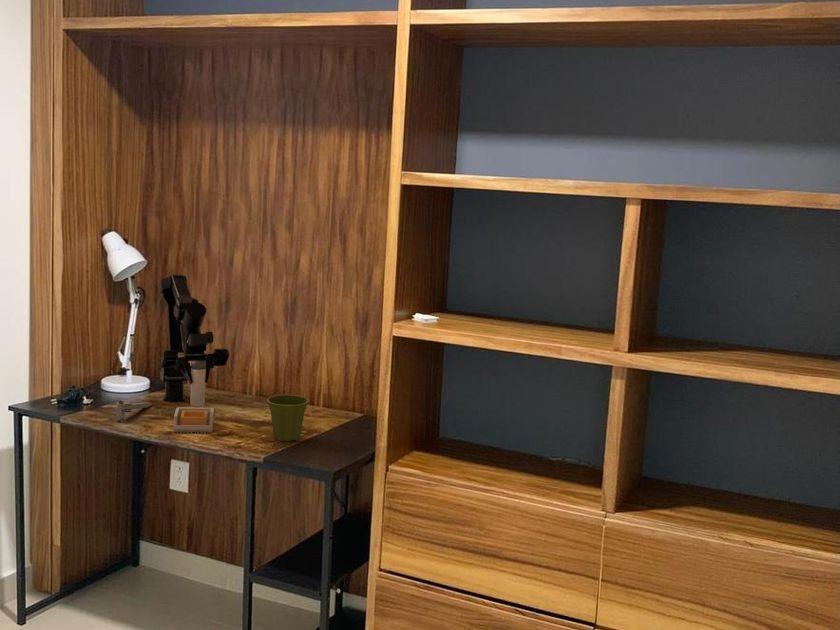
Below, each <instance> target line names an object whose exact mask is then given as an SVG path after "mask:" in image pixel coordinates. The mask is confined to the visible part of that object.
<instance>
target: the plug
mask: <svg viewBox="0 0 840 630" xmlns="http://www.w3.org/2000/svg"><path fill="white" fill-rule="evenodd" d="M190 362H191V363H190V366H191V375H192V384H190V405H191V406H195V407H196V406H197V407H199V406H201V407H202V406H204V405H205V403H206V402H205V401H206V382H205V377H206V361H204V360H193V361H190Z"/></svg>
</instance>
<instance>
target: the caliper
mask: <svg viewBox="0 0 840 630" xmlns="http://www.w3.org/2000/svg"><path fill="white" fill-rule="evenodd" d="M116 406H117V407H116V421H117V422H121V421H123V419H124V420H125V415H126V413H131V412H132V410H139V409H146V408H149V407H151V406H153V403H151V402H140V403H139V402H138V403H132V402H125V400H124V399H120V400H118V404H117V405H116Z"/></svg>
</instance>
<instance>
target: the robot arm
mask: <svg viewBox="0 0 840 630" xmlns="http://www.w3.org/2000/svg"><path fill="white" fill-rule="evenodd" d="M188 285H189V284H188V279H187V276H186V275H184V274H171V275H169V276H168V277H165V278H162V279H160V281H159V283H158V294H160V300H161V302H163V304H164V306H165V308H166V325H167V329H166V330H167V349H164V350H163V351H162V352H161V353H162V354H161V357H160V366H161V367H160V372H159V375H160V376H159V377H160V378H159V379H160V381H161V382H162V383H165V385H164V386H165V393H164V396H163V397H162V400H163V401H167V402H168V401H169V402H170V401H176V402H178V401H180V402H183V401H185V399H186V394H184V387H185V385H184V384H185V382H186V381H187V382H188V383H189V384H190V385H191V384H192V375H191V363H190V362H192V361H193V360H204V361H206V377H205V384H208V382H209V376H210V372H211V369H214V368H215V367H225V366H226V365H227V363H228V360H229V357H230V352H229V350H228V348H214V349H213V352H212V353H205V352H206V351H207V346H208V344H213V343H214V334H213V331H206V332H205V333H202V329H201V327H202V326H203V324H204V320H205V318H206V314H207V308H206V306H205V305H204V304H203V303H202V302H199V299H197V298H194V297H192V296H191V292H190V289H189V287H188Z"/></svg>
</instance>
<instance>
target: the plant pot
mask: <svg viewBox="0 0 840 630" xmlns="http://www.w3.org/2000/svg"><path fill="white" fill-rule="evenodd" d="M266 402H267V403H268V407H269V411H270V418H271V423H272V424H271V425H272V432H273V438H274V439H276V440H277V441H280V442H291V441H297V440H299V439H300V436H301V431H302V426H303V421H304V418H305V417H304V416H305V412H306V410H307V407H308V406H307V405H308V403H309V402H310V399H309V398H308V397H305V396H303V395H297V394H277V395H276V394H275V395H272V396H269V397H268V398H267V399H266Z"/></svg>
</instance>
